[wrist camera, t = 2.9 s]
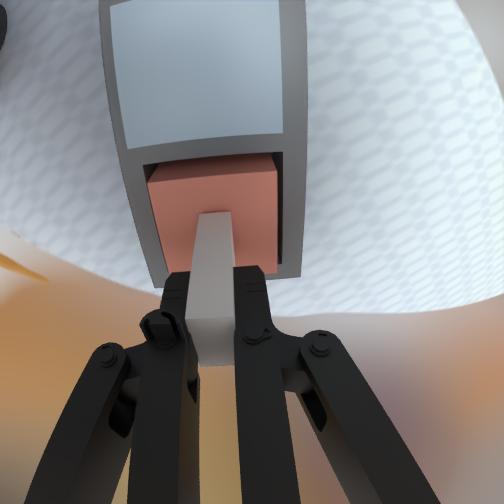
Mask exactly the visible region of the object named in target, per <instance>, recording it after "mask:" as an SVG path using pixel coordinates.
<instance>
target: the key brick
mask: <svg viewBox="0 0 504 504" xmlns="http://www.w3.org/2000/svg"><path fill="white" fill-rule="evenodd" d="M147 185H148V190H149V194H150V199H151V203H152V208H153V212H154V217H155V221H156V225H157V229H158V233H159V237H160V241H161V245H162V249H163V253H164V257H165V260H166V264H167V268H168V271H169V275H170V274H171V273H172V272H184V271H191V266H192V259H193V252H194V245H195V238H196V231H197V225H198V219H199V214H205V213H216V212H228V211H231V222H232V232H233V243H234V253H235V267H239V266H252V265H258V266H259V267H260V268H261V270H262V271H263V272H264V274H272V273H277V170H276V167H275V165H274V162H273V160H272V158H271V155H270V153H269V152H261V153H245V154H232V155H220V156H209V157H199V158H190V159H181V160H173V161H166V162H160V163H159V164H158V166H157V168H156V169H155V171H154V173H153V174H152V176H151V178H150V179H149V181H148V183H147Z"/></svg>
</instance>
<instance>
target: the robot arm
mask: <svg viewBox="0 0 504 504" xmlns="http://www.w3.org/2000/svg"><path fill="white" fill-rule="evenodd" d="M163 291H164V292H163V295H162V300H161V305H160V309H157V310H153V311H152V312H150V313H147V314H146V315H145V316H144V317H143V318H142V320H141V322H140V324H139V325H140V327H141V329H142V332H143V333H144V336H145V338H146V340H147V341H145V342H144V343H142V344H139V345H136V346H133V347H129V348H126V349H123V347H122V346H121V345H119V344H117V343H110V342H109V343H106V344H102V345H101V346H99V347H98V348H97V349H96V350H95V351H94V352H93V354H92V356H91V357H90V359H89V361H88V363H87V365H86V367H85V368H84V370H83V372H82V374H81V376H80V378H79V380H78V382H77V384H76V385H75V387H74V389H73V391H72V393H71V395H70V397H69V399H68V401H67V403H66V405H65V407H64V409H63V411H62V414H61V416H60V418H59V420H58V422H57V424H56V426H55V429H54V431H53V433H52V435H51V437H50V439H49V442H48V444H47V446H46V448H45V451H44V453H43V455H42V458H41V460H40V462H39V465H38V467H37V470H36V472H35V475H34V477H33V480H32V483H31V485H30V488H29V491H28V494H27V496H26V499H25V502H24V504H111V502H112V499H113V497H114V493H115V491H116V488H117V485H118V482H119V479H120V476H121V473H122V471H123V468H124V465H125V462H126V460H127V457H128V454H129V451H130V449H131V456H130V466H129V479H128V495H127V504H200V484H199V483H200V481H199V407H200V406H199V405H200V377H199V373H198V362H199V365H200V367H208V366H227V365H235V386H236V407H237V425H238V442H239V461H240V475H241V491H242V504H301V502H300V495H299V488H298V481H297V473H296V466H295V459H294V452H293V446H292V439H291V432H290V425H289V418H288V412H287V405H286V398H285V392H284V391H289V392H295V393H296V395H297V397H298V399H299V401H300V403H301V405H302V407H303V409H304V411H305V414H306V416H307V418H308V420H309V422H310V424H311V426H312V428H313V430H314V432H315V434H316V436H317V438H318V440H319V442H320V444H321V446H322V448H323V450H324V452H325V454H326V456H327V458H328V460H329V462H330V464H331V466H332V468H333V470H334V472H335V474H336V476H337V478H338V480H339V482H340V484H341V486H342V488H343V490H344V492H345V494H346V496H347V498H348V500H349V502H350V504H441V503H440V502H439V500H438V498H437V497H436V495H435V493H434V491H433V490H432V488H431V486H430V484H429V483H428V481H427V479H426V478H425V476H424V474H423V473H422V471H421V469H420V468H419V466H418V464H417V463H416V461H415V459H414V458H413V456H412V454H411V453H410V451H409V449H408V448H407V446H406V444H405V443H404V441H403V439H402V438H401V436H400V434H399V433H398V431H397V430H396V428H395V426H394V425H393V423H392V421H391V420H390V418H389V417H388V415H387V414H386V412H385V410H384V409H383V407H382V405H381V404H380V402H379V401H378V399H377V397H376V396H375V394H374V393H373V391H372V389H371V388H370V386H369V385H368V383H367V382H366V380H365V378H364V377H363V375H362V374H361V372H360V371H359V369H358V367H357V366H356V365H355V363H354V361H353V360H352V358H351V357H350V355H349V353H348V352H347V350H346V349H345V347H344V346H343V344H342V343H341V341H340V340H339V339H338V338H337V336H336V335H334V334H333V333H331V332H329V331H323V330H316V331H311V332H309V333H307V334H306V335H305V336H304V337H303V338H302V337H296V336H290V335H287V334H284V333H282V332H280V331H279V330H278V329H277V328H275V326H274V325H273V322H272V319H271V313H270V307H269V300H268V294H267V288H266V281H265V275H264V272H263V271H262V270H261V268H260V267H259V266H258V265H252V266H239V267H235V253H234V243H233V232H232V222H231V211H228V212H216V213H205V214H199V219H198V225H197V231H196V238H195V245H194V252H193V259H192V266H191V271H184V272H172V273H171V274H170V276H169V277H168V278H167V280H166V281H165V285H164V290H163Z"/></svg>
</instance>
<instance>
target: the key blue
mask: <svg viewBox="0 0 504 504" xmlns="http://www.w3.org/2000/svg"><path fill="white" fill-rule="evenodd" d="M110 16H111V32H112V44H113V55H114V64H115V73H116V81H117V88H118V95H119V102H120V109H121V115H122V121H123V127H124V133H125V138H126V144H127V149H132V148H138V147H144V146H150V145H156V144H163V143H170V142H178V141H186V140H194V139H203V138H213V137H224V136H237V135H252V134H273V133H283V110H282V69H281V41H280V18H279V0H131V1H127V2H123V3H120V4H116V5H113V6H110Z"/></svg>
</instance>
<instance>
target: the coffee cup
mask: <svg viewBox="0 0 504 504" xmlns="http://www.w3.org/2000/svg"><path fill="white" fill-rule="evenodd" d="M6 28H7V15H6V11H5V9H4V7H3V6H2V5H1V4H0V49H1V47H2V44H3V41H4V38H5V34H6Z"/></svg>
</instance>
